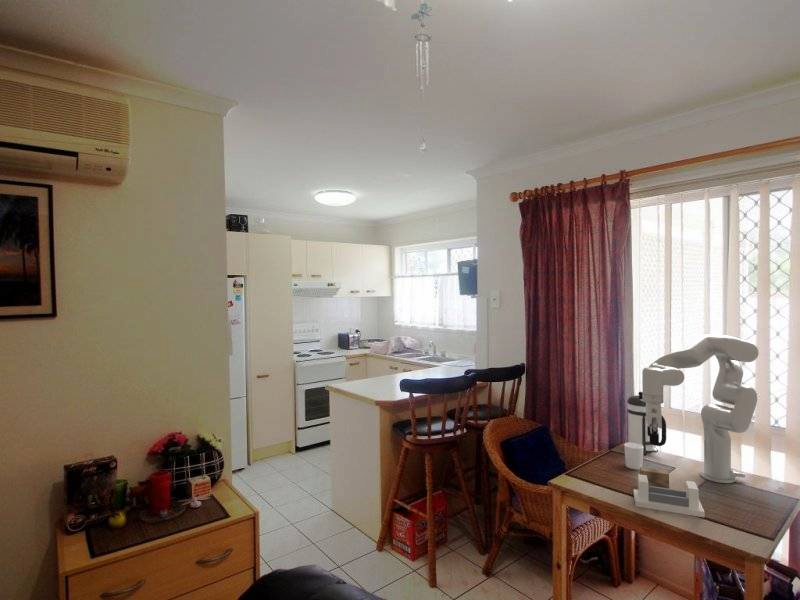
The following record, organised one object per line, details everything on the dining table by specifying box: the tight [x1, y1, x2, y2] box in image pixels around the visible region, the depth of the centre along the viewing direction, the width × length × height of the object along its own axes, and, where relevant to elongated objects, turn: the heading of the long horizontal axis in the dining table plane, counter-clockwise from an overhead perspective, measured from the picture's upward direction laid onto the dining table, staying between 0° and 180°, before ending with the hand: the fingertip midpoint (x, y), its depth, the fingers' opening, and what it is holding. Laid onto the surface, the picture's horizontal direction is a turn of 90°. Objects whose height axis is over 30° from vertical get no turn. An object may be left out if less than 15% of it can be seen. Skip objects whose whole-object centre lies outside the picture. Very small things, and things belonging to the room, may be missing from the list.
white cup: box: [623, 442, 644, 471], centre depth 206 cm, size 8×8×10 cm
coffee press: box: [626, 391, 667, 456], centre depth 225 cm, size 17×16×30 cm
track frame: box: [633, 473, 706, 518], centre depth 169 cm, size 22×11×9 cm, turn 66°
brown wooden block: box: [639, 466, 670, 489], centre depth 182 cm, size 10×4×8 cm, turn 66°
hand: (653, 439), depth 182 cm, fingers open, 9 cm apart
